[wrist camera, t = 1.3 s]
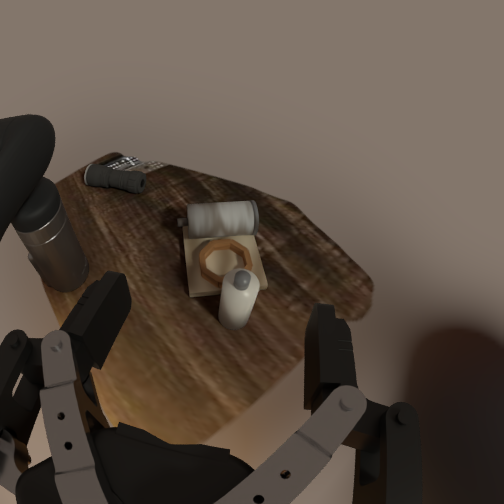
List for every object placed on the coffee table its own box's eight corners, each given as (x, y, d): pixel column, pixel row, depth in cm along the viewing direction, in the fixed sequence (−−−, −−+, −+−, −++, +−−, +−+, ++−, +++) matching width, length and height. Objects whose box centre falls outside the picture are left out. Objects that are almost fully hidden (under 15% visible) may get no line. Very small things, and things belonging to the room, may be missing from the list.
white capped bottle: (221, 331, 48) (227, 296, 37) (216, 304, 50) (220, 263, 40) (251, 327, 49) (265, 291, 39) (245, 301, 52) (257, 259, 42)
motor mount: (184, 297, 50) (182, 272, 44) (177, 225, 60) (176, 196, 53) (266, 289, 54) (276, 263, 47) (247, 220, 63) (253, 192, 57)
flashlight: (149, 184, 66) (147, 166, 62) (140, 199, 63) (137, 181, 59) (97, 176, 66) (93, 159, 62) (87, 189, 62) (82, 172, 58)
